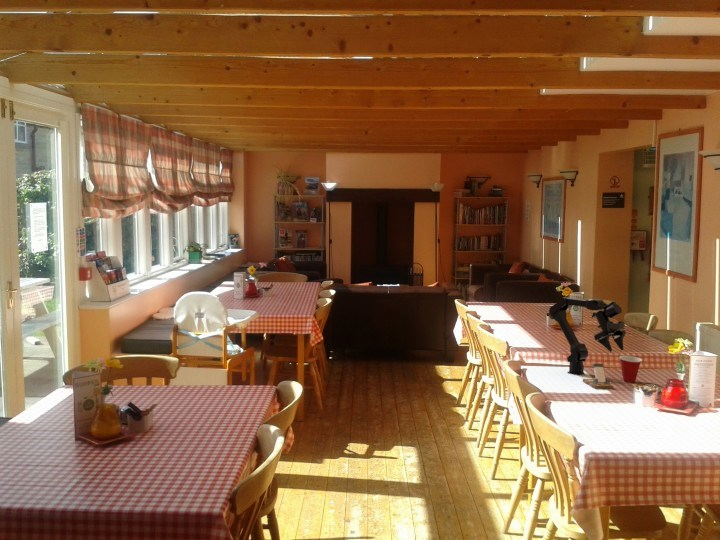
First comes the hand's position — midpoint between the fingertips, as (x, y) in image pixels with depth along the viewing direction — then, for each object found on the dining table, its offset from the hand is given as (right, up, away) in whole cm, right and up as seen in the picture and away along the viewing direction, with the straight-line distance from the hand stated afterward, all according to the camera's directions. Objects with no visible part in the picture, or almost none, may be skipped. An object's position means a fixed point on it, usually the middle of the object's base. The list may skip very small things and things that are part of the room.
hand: (616, 350), depth 357 cm
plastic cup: (+8, -16, +4) cm, 18 cm away
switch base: (-12, -16, -8) cm, 22 cm away
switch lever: (-12, -14, -12) cm, 22 cm away
